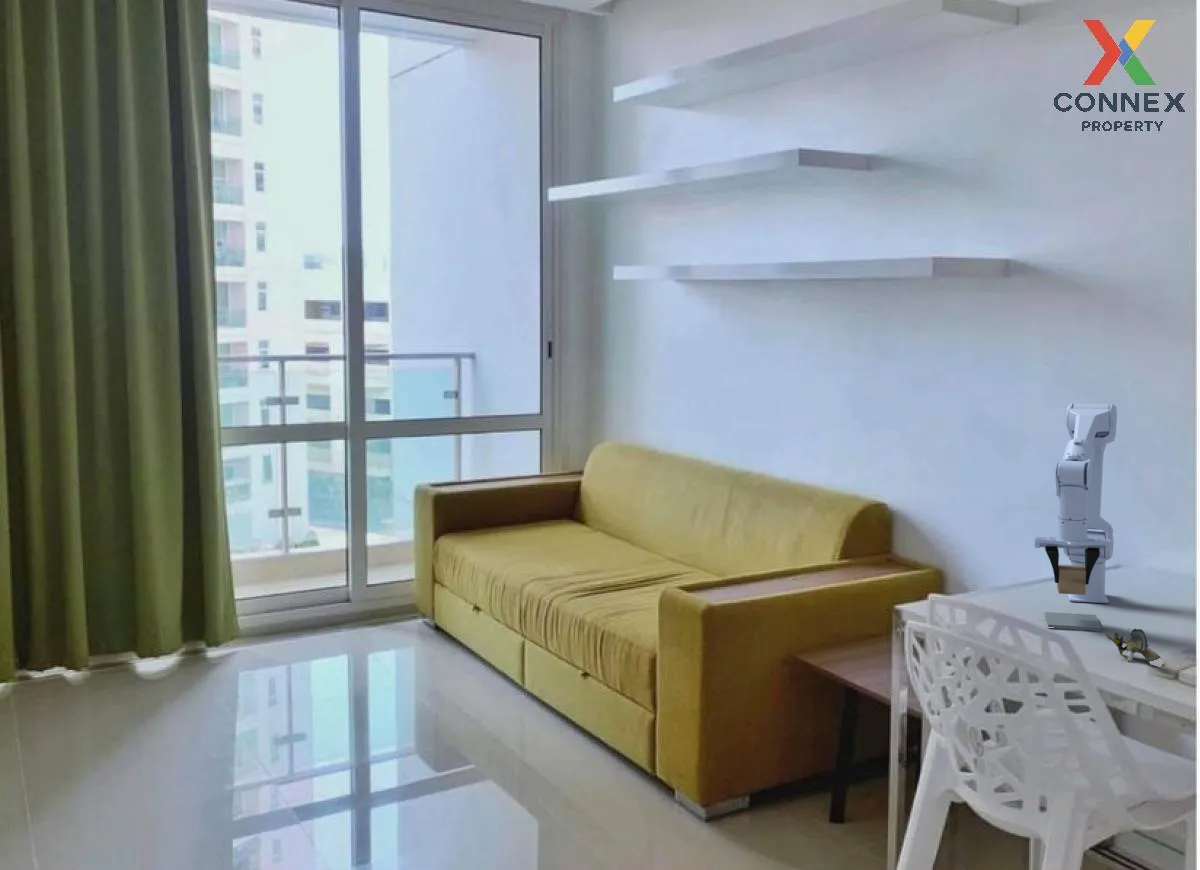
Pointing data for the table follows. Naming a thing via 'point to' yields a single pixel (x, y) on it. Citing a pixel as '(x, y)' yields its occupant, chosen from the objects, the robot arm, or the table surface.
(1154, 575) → the table surface
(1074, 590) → the walnut cube
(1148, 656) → the eagle figurine
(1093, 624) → the slate coaster
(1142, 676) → the table surface
